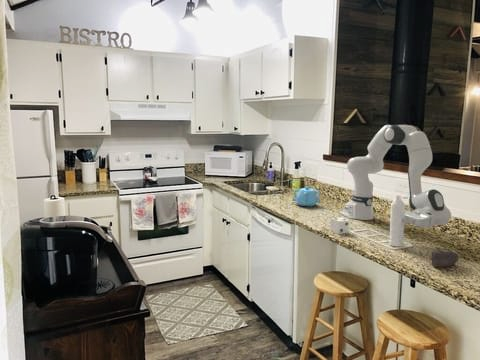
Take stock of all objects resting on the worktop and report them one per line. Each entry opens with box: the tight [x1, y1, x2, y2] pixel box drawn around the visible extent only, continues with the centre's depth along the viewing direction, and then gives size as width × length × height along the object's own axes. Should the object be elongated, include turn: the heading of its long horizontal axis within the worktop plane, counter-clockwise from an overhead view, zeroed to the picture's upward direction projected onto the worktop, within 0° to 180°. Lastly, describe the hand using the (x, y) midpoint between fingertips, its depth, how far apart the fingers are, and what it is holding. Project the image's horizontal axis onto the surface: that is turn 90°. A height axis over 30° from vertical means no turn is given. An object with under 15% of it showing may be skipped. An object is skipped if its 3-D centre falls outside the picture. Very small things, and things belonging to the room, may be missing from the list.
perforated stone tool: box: [430, 250, 459, 268], centre depth 164 cm, size 15×5×7 cm, turn 108°
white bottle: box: [388, 194, 409, 247], centre depth 188 cm, size 9×6×25 cm
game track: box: [349, 228, 415, 251], centre depth 200 cm, size 31×14×1 cm, turn 25°
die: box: [330, 216, 350, 235], centre depth 211 cm, size 7×7×7 cm
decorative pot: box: [292, 186, 321, 208], centre depth 273 cm, size 16×16×14 cm
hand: (397, 218), depth 189 cm, fingers open, 8 cm apart
